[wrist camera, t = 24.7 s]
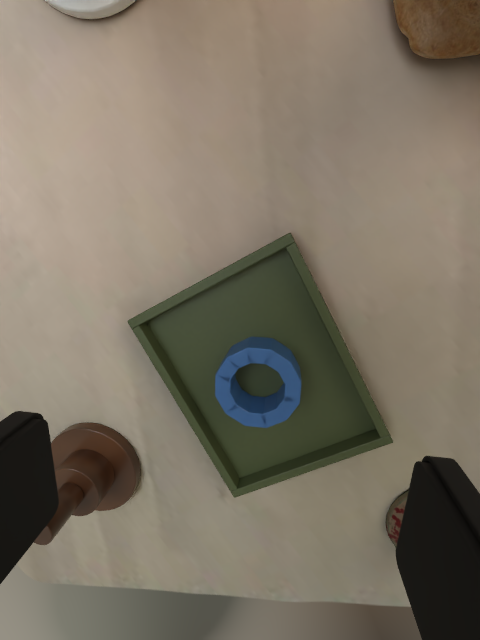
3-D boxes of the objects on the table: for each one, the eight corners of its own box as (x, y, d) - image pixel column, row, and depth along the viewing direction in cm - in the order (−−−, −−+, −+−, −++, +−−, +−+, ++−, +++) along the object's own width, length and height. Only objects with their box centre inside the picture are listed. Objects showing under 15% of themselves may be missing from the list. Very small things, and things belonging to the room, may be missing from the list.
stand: (36, 442, 36) (-39, 504, 28) (107, 408, 34) (48, 466, 25) (86, 513, 38) (29, 592, 29) (157, 485, 35) (118, 563, 27)
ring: (208, 356, 30) (199, 369, 27) (277, 323, 28) (276, 334, 26) (244, 419, 31) (239, 438, 28) (312, 391, 30) (315, 408, 27)
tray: (137, 315, 31) (126, 321, 29) (290, 232, 27) (290, 232, 25) (237, 482, 34) (234, 498, 32) (386, 428, 30) (393, 442, 28)
